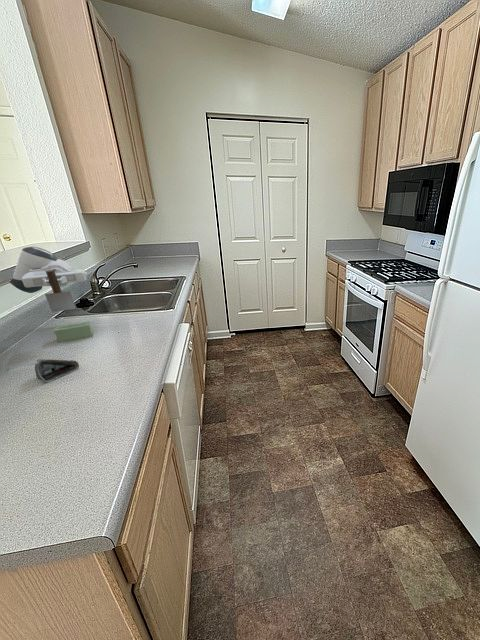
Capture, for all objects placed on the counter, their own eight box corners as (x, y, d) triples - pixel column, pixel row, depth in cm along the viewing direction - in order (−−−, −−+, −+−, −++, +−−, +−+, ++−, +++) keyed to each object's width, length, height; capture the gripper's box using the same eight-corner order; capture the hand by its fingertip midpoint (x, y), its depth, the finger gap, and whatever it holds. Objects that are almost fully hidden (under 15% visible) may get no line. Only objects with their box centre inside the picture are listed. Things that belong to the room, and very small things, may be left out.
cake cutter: (51, 312, 125) (36, 272, 118) (52, 311, 127) (37, 271, 120) (75, 309, 128) (62, 270, 122) (76, 307, 130) (63, 269, 124)
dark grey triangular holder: (70, 364, 117) (32, 350, 108) (81, 362, 114) (42, 348, 104) (60, 389, 114) (19, 378, 105) (70, 389, 110) (29, 377, 101)
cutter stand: (59, 344, 132) (53, 330, 129) (60, 340, 136) (55, 326, 133) (93, 338, 137) (89, 325, 134) (93, 334, 141) (89, 321, 138)
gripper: (89, 279, 139) (88, 286, 128) (30, 286, 130) (23, 294, 119) (85, 264, 136) (83, 270, 125) (24, 270, 127) (16, 277, 116)
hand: (53, 282), depth 122 cm, fingers closed on cake cutter, 2 cm apart
